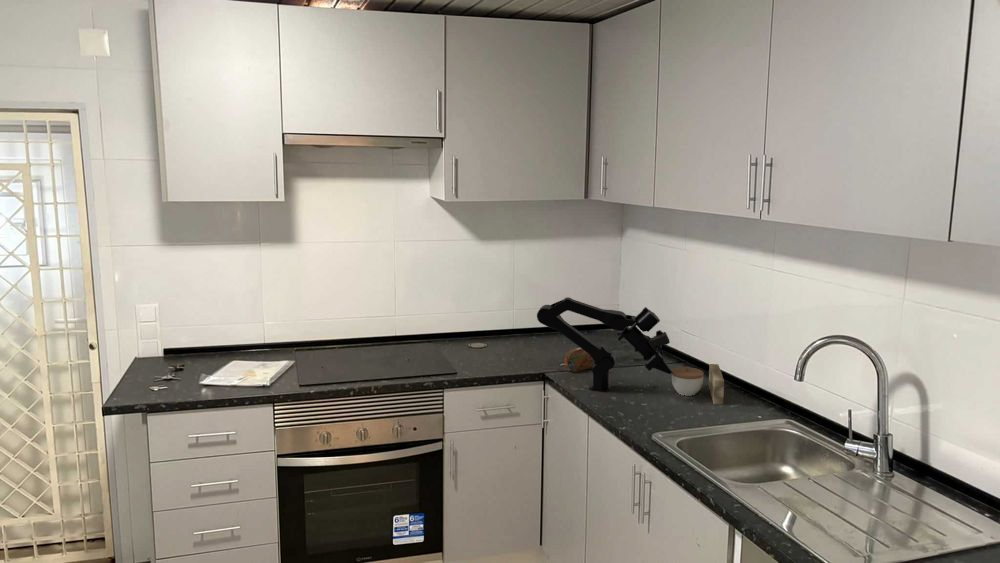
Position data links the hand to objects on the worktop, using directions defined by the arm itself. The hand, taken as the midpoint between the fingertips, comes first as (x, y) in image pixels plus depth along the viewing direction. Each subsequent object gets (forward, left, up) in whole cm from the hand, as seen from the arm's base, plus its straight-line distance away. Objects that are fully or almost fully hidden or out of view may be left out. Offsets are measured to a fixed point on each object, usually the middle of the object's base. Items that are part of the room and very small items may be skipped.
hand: (670, 372), depth 255 cm
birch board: (+5, -14, -7) cm, 17 cm away
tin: (+12, +39, -7) cm, 41 cm away
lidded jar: (+2, -5, -7) cm, 9 cm away
